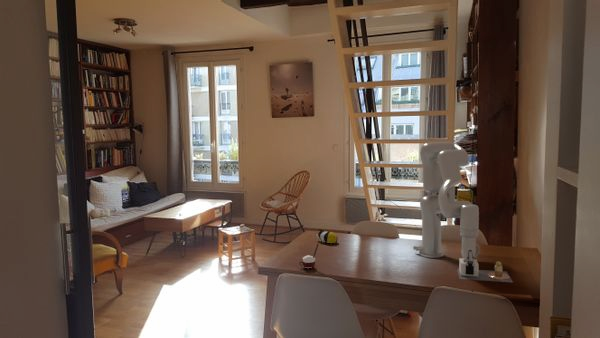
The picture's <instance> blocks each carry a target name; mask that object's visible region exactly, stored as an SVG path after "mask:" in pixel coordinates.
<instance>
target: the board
mask: <svg viewBox="0 0 600 338" xmlns="http://www.w3.org/2000/svg"><path fill="white" fill-rule="evenodd" d="M456 271H457V275H458V277H459V280H471V281H487V282H502V283H514V281H513V280H512V278H511V277H510V278H509V279H505V280H500V279H494V278H490V277H488V276H487V274H488V273H491V272H495V270H486V269H482V270H481V269H479V270H478V277H477V276H462V275H460V271H459V268H456ZM502 273H504V274H507V275H509V273H508V271H504V270H502Z"/></svg>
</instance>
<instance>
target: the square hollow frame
mask: <svg viewBox="0 0 600 338" xmlns="http://www.w3.org/2000/svg"><path fill="white" fill-rule="evenodd" d="M458 261H459V263H458V264H459V265H458V266H459V267H458V269H459V271H460V275H462V276H477V277H478V270H480V269H479V262H478V259H477V258H476V259H474V260H473V266H474V274H473V275H468V274H466V265H467V264H466V259H463V257H461V258H459V259H458ZM468 261H469V260H468Z"/></svg>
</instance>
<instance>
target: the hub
mask: <svg viewBox="0 0 600 338" xmlns="http://www.w3.org/2000/svg"><path fill="white" fill-rule="evenodd" d="M494 271H495V272H491V273H488V274H487V276H488V277H490V278H494V279H500V280H505V279H509V278H511V277H510V275H509V274H508V275H507V274H504V273H502V271H503V264H502V261H496V262H495V265H494Z"/></svg>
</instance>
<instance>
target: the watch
mask: <svg viewBox="0 0 600 338" xmlns="http://www.w3.org/2000/svg"><path fill="white" fill-rule="evenodd" d="M476 246H477V249H476V251H475V259H477V257H478V256H479V255H480V253H481V248H480V246H479V244H478V243H476Z"/></svg>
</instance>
